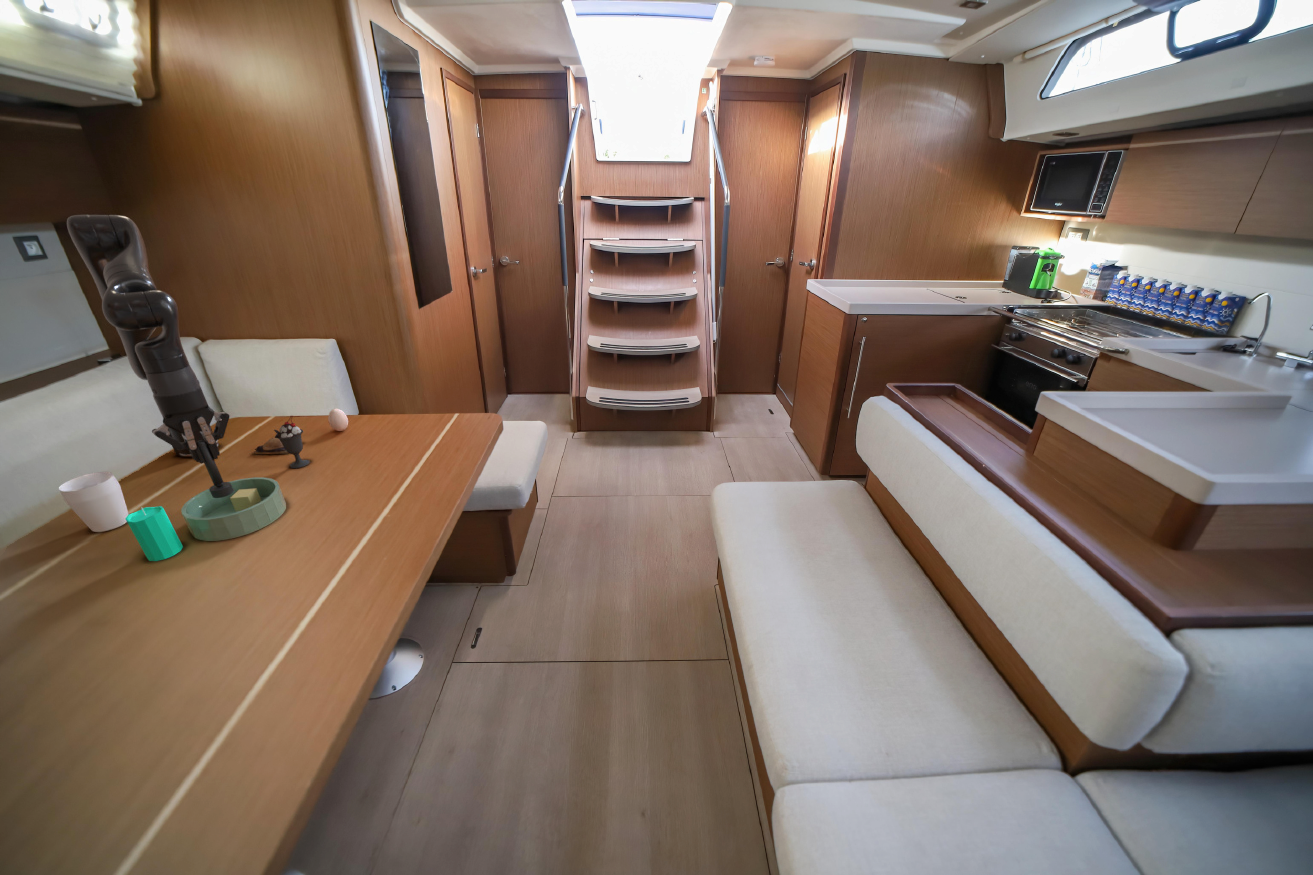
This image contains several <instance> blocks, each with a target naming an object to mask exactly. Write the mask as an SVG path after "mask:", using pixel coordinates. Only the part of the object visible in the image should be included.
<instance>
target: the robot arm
mask: <svg viewBox="0 0 1313 875" xmlns="http://www.w3.org/2000/svg"><path fill="white" fill-rule="evenodd" d="M66 227H67V231H68V234H69V236H70V238H71V241H72V243H73V245H74V246H75V248H76V250H77V252H78V254H79V255H80V257H81V259H82V260H83V263H84V264H85V266H86V268H87V269H88V271H89V273H90V275H91V276H92V279H93V281H94V283H95V285H96V288H97V290H98V293H99V296H100V298H101V310H102V313H103V316H104V317H105V320H106V321H107V322H108V323H109V324H110V325H111V326H113V327H115V330H116V331H117V333H118V336H119V338H120V340H121V343H122V345H123V348H124V351H125V354H126V357H127V360H128V362H129V365H130V367H131V369H132V371H133V373H134V374H135V375H136V376H137V377H138V378H139V379H140V380H144V381H147V384H148V387H149V388H150V390H151V392H152V397H153V401H154V402H155V404H156V407H157V408H158V410H159V412H160V414H161V417H162V424H161V425H160V426H158V427H157V428H153V429H152V430H151V434H153V435H154V436H155V437H157V438H158V439H160V440H162V441H164V442H165V443H167V444H168V445H169V446H171V447H172V449H173V451H174V453H175V456H176V457H181V458H192V459H193V461H194V462H196V463H199V464H201V465H202V464H204V463H205V461H204V458H203V456H202V454H201V452H200V449H199V448H198V447H197V446H196V442H197V441H199V440H204V441H206V443H207V445H208V447H209V450H210V452H211V454H212V457H213V459H214V461H215V460H217V459H219V457H218V456H221V455H220V454H221V453H220V450H219V448H220V444H219V442H218V441H219V440H221V439H223V438H224V437H225V434H226V430H227V427H228V423H229V420H230V414H229V413H228V412H225V411H223V410H222V411H216V410H214V409H213V408H211V406H209V404H208V401H207V399H206V397H205V394H204V392H203V390H202V386H201V383H200V381H199V379H198V376H197V375H196V373H195V372H194V370H193V368H192V366H191V365H190V362H189V360H188V357H187V355H186V352H185V350H184V346H183V345H182V340H181V334H180V327H179V326H180V324H179V323H180V322H179V321H180V317H179V316H180V315H179V314H180V313H179V308H178V303H177V301H176V300H175V299H174V298H173V297H172V296H171V295H170V294H168V293H167V292H166V291H163V290H159V289H158V288H157V286H156V283H155V281H154V279H153V277H152V275H151V272H150V267H149V266H150V265H149V258H148V253H147V248H146V244H145V240H144V238H143V236H142V235H143V234H142V233H141V231H140V229H139V227H138V225H137V224H136V223H135V221H133V219H131V218H130V217H127V216H125V215H118V214H75V215H71V216H70V215H69V217H68V218H67V219H66ZM107 260H108V261H107ZM157 328H162V329H161V332H160V334H158V335H157V336H153V337H152V338H150V337H151V335H153V333H154V332H155V330H156V329H157ZM213 418H214V420H215V421H216V422H215V426H214V429H213V428H212V426H211V422H212V421H213Z"/></svg>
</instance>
